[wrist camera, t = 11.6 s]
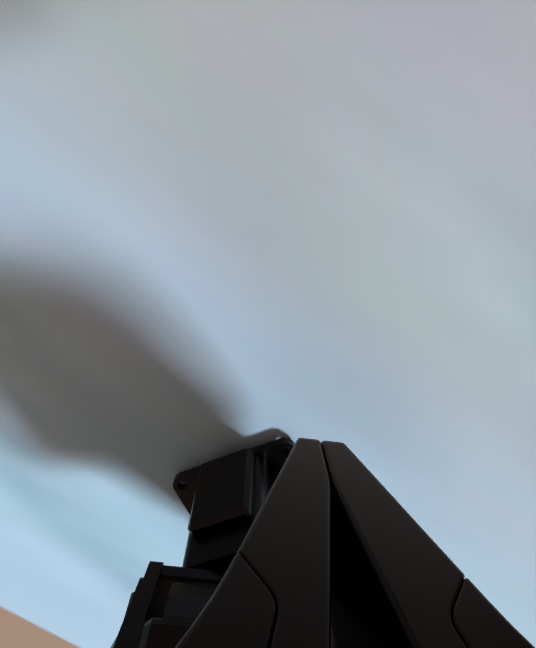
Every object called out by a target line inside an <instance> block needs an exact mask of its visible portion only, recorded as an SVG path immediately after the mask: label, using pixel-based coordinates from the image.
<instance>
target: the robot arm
mask: <svg viewBox="0 0 536 648" xmlns="http://www.w3.org/2000/svg"><path fill="white" fill-rule="evenodd" d="M283 447H287V448H289V449H288V450H286V451H283V450H281V448H283ZM180 482H186V483H187V484H181V483H180ZM173 488H174V490H175V491H176V493H177V495H178V496H179V498H180V499H181V501H182V503H183V504H184V506H185V507H186V509H187V511H188V512H189V514H190V519H189V524H188V530H189V536H188V541H187V546H186V551H185V556H184V561H183V566H182V567H176V566H166V565H163V562H153V561H150V563H149V565H148V568H147V571H146V573H145V576H144V578H140V580H139V582H138V585H137V587H136V590H135V592H133V593H132V594H131V597H130V600H129V604H128V607H127V611H126V614H125V617H124V621H123V623H122V626H121V628H120V631H119V633H118V636H117V637H116V639H115V641H114V642H113V644H112V646H111V647H110V648H535V647H534V646H533V645H532V644H531V643H530V642H529V641H528V640H526V639H525V638H524V637H523V636H522V635H521V634H520V633H519V632H518V631H517V630H516V629H515V628H514V627H513V626H512V625H511V624H510V623H509V622H508V621H507V620H506V619H505V618H504V616H503V615H502V614H501V613H500V612H499V611H498V610H497V609H496V608H495V607H494V606H493V605H492V604H491V603H490V602H489V601H488V600H487V599H486V598H485V597H484V595H483V594H482V593H481V592H480V591H479V590H478V589H477V588H476V587H475V586H474V585H473V583H472V582H471V581H470V580H469V579H467V578H465V579H464V577H465V576H464V574H463V573H462V572H461V571H460V569H459V568H458V567H457V566H456V565H455V564H454V563H453V562H452V561H451V560H450V559H449V557H448V556H447V555H446V554H445V553H444V552H443V551H442V550H441V549H440V548H439V547H438V545H437V544H436V543H435V542H434V541H433V540H432V539H431V538H430V537H429V536H428V535H427V533H426V532H425V531H424V530H423V529H422V528H421V527H420V526H419V525H418V524H417V523H416V521H415V520H414V519H413V518H412V517H411V516H410V515H409V514H408V513H407V512H406V510H405V509H404V508H403V507H402V506H401V505H400V504H399V503H398V502H397V501H396V500H395V498H394V497H393V496H392V495H391V494H390V493H389V492H388V491H387V490H386V489H385V488H384V486H383V485H382V484H381V483H380V482H379V481H378V480H377V479H376V478H375V477H374V476H373V474H372V473H371V472H370V471H369V470H368V469H367V468H366V467H365V466H364V465H363V463H362V462H361V461H360V460H359V459H358V458H357V457H356V456H355V455H354V454H353V453H352V451H351V450H350V449H349V448H348V447H347V446H346V445H345V444H344V443H341V442H332V441H322V442H321V443H320V441H319V440H314V439H306V438H299V439H298V440H297V441H296V443H294V442H293V441H292V440H291V439H288V438H281V439H278V440H275V441H272V442H269V443H266V444H264V445H261V446H258V447H255V448H252V449H245V450H242V451H239V452H236V453H233V454H230V455H228V456H225V457H222V458H219V459H216V460H213V461H210V462H207V463H204V464H202V466H199V467H196V468H193V469H190V470H187V471H184V472H181V473H179V474H177V475H176V476H175V478H174V482H173Z"/></svg>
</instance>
